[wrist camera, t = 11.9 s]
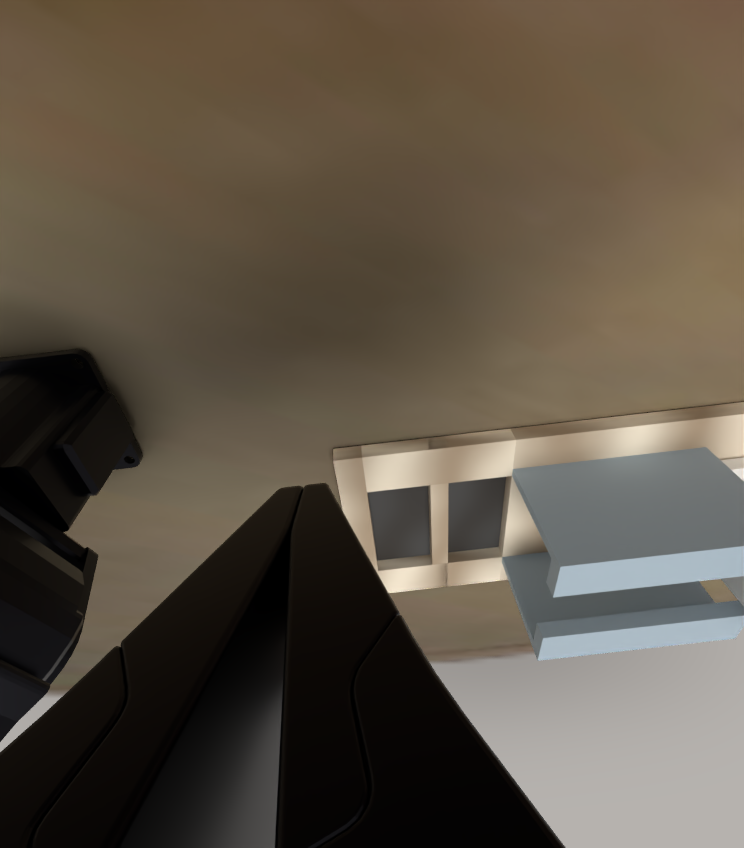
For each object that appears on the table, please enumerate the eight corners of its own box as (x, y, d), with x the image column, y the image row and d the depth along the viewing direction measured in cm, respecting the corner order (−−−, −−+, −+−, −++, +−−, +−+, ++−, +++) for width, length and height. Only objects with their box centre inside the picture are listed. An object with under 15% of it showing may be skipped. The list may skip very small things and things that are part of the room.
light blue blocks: (501, 561, 29) (537, 660, 23) (512, 469, 24) (560, 566, 19) (663, 543, 28) (735, 638, 23) (705, 446, 24) (806, 539, 19)
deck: (358, 583, 31) (359, 596, 30) (333, 448, 24) (333, 460, 23) (747, 539, 30) (758, 551, 30) (837, 391, 23) (855, 401, 23)
